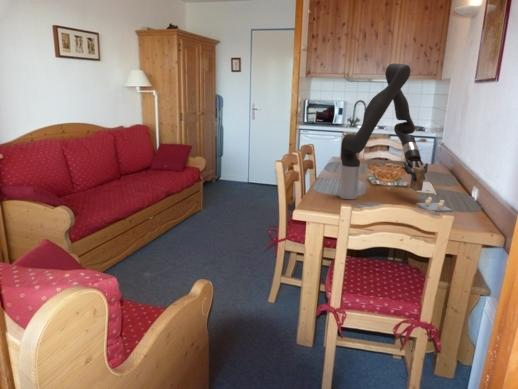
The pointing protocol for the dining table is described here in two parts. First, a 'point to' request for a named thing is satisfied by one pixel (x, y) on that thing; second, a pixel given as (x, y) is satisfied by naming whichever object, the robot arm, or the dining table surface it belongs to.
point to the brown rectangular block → (418, 179)
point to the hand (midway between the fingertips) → (419, 180)
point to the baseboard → (427, 189)
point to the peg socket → (434, 206)
